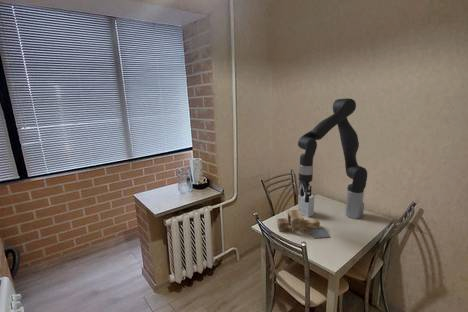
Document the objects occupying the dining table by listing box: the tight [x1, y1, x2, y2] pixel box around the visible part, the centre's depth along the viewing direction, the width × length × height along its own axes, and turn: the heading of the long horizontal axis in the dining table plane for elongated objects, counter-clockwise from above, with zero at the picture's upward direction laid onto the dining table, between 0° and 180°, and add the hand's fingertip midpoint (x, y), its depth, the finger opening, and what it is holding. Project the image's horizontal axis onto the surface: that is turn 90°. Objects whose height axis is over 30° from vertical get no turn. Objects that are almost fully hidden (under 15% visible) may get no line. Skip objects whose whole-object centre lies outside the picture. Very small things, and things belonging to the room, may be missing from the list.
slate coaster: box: [308, 227, 331, 239], centre depth 141 cm, size 9×9×1 cm
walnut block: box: [276, 217, 290, 233], centre depth 147 cm, size 6×6×6 cm
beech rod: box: [290, 219, 321, 231], centre depth 147 cm, size 16×4×4 cm, turn 89°
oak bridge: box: [287, 209, 305, 235], centre depth 147 cm, size 6×11×9 cm, turn 2°
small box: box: [297, 193, 315, 218], centre depth 163 cm, size 8×6×13 cm
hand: (304, 199), depth 143 cm, fingers open, 8 cm apart
